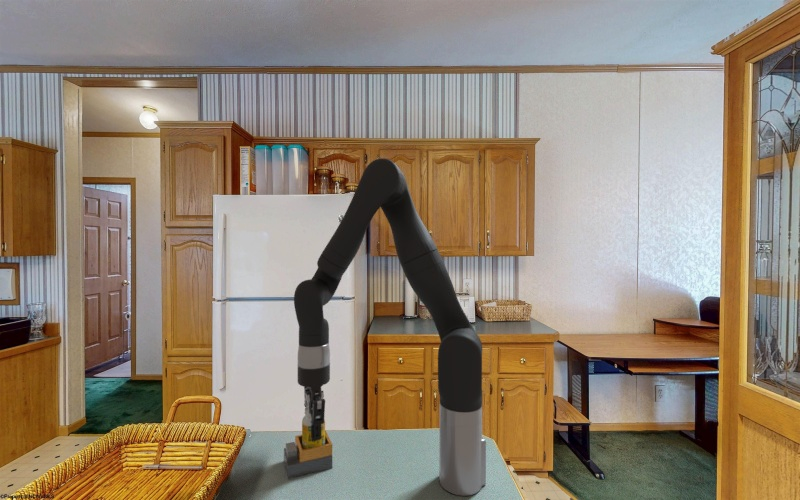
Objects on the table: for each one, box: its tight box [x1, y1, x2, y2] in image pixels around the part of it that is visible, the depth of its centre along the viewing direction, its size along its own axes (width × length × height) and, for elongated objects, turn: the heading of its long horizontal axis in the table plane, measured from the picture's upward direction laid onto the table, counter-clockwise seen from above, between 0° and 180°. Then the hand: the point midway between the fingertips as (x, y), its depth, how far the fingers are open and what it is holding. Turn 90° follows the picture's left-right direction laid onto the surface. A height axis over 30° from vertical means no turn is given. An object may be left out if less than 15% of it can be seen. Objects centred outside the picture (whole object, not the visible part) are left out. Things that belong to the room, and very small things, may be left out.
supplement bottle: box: [301, 406, 326, 449], centre depth 85 cm, size 5×5×10 cm
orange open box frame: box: [283, 429, 333, 480], centre depth 84 cm, size 10×8×6 cm
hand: (313, 433), depth 85 cm, fingers closed on supplement bottle, 5 cm apart
